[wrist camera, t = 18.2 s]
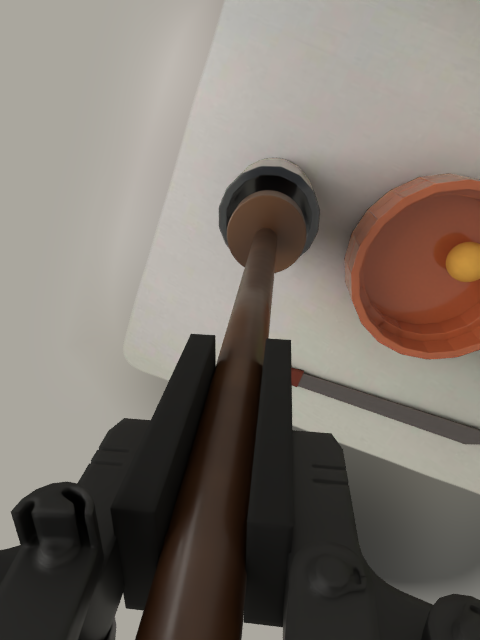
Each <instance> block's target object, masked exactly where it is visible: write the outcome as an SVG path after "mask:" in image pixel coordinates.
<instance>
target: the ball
mask: <svg viewBox="0 0 480 640" xmlns="http://www.w3.org/2000/svg"><path fill="white" fill-rule="evenodd" d="M446 269H447V271H448V273H449V274H450V276H451V277H453V278H454V279H456V280H458V281H461V282H473V281H476V280H478V279H480V244H478V243H475V242H464V243H461V244H458V245H457V246H455V247H454V248H453V249H452V250H451V251H450V252H449V253H448V255H447V258H446Z"/></svg>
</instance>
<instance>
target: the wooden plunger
mask: <svg viewBox="0 0 480 640" xmlns="http://www.w3.org/2000/svg"><path fill="white" fill-rule="evenodd" d="M227 242H228V246H229V249H230V251H231V253H232V255H233V256H234V258H235V259H236V260H237V261H238V262H239V263H240V264H241V265H242V266H244V267H245V269H244V273H243V276H242V279H241V283H240V286H239V290H238V293H237V296H236V300H235V303H234V306H233V310H232V313H231V317H230V320H229V323H228V327H227V330H226V334H225V337H224V340H223V344H222V347H221V351H220V354H219V357H218V361H217V364H216V367H215V371H214V374H213V378H212V381H211V384H210V388H209V391H208V395H207V398H206V401H205V405H204V408H203V412H202V415H201V418H200V422H199V425H198V428H197V432H196V435H195V439H194V442H193V445H192V449H191V452H190V456H189V459H188V462H187V466H186V469H185V473H184V476H183V479H182V483H181V486H180V489H179V493H178V496H177V500H176V503H175V506H174V510H173V513H172V517H171V520H170V523H169V527H168V530H167V534H166V537H165V540H164V544H163V547H162V550H161V554H160V557H159V561H158V564H157V567H156V571H155V574H154V578H153V581H152V584H151V588H150V591H149V595H148V598H147V601H146V605H145V608H144V611H143V615H142V618H141V622H140V625H139V628H138V632H137V635H136V639H135V640H241V637H242V626H243V615H244V604H245V593H246V581H247V574H246V570H245V567H246V537H247V517H248V508H249V498H250V488H251V478H252V469H253V459H254V449H255V440H256V430H257V420H258V411H259V401H260V391H261V381H262V372H263V362H264V352H265V343H266V339H268V337H269V326H270V315H271V303H272V292H273V281H274V273H276V272H280V271H282V270H284V269H286V268H288V267H289V266H291V265H292V264H293V263H294V262H295V261H296V260H297V259H298V258H299V256H300V255H301V253H302V251H303V249H304V246H305V242H306V226H305V221H304V216H303V214H302V211H301V209H300V208H299V206H298V205H297V203H296V202H295V201H294V200H293V199H291V198H290V197H289V196H287V195H285V194H283V193H281V192H278V191H272V190H264V191H259V192H255V193H253V194H251V195H249V196H247V197H246V198H245V199H243V200H242V201H241V202H240V203H239V205H238V206H237V207H236V209H235V211H234V212H233V214H232V216H231V218H230V220H229V223H228V227H227Z"/></svg>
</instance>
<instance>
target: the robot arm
mask: <svg viewBox="0 0 480 640" xmlns="http://www.w3.org/2000/svg"><path fill="white" fill-rule="evenodd" d="M215 367H216V365H215V335H200V334H191V335H190V337H189V339H188V342H187V344H186V346H185V348H184V350H183V352H182V355H181V357H180V359H179V361H178V363H177V365H176V367H175V370H174V372H173V374H172V376H171V378H170V380H169V382H168V385H167V387H166V389H165V391H164V393H163V396H162V398H161V400H160V402H159V404H158V406H157V408H156V411H155V413H154V415H153V417H152V419H151V420H140V419H139V420H138V419H128V418H124V419H123V420H121V421H120V422H119V423H118V424H117V425H115V426H114V427H113V428H112V429H110V430H109V431H108V433H107V434H106V436H105V438H104V439H103V441H102V443H101V445H100V446H99V450H97V451H96V453H95V455H94V456H93V458H92V460H91V464H89V465H88V467H87V468H86V470H85V472H84V474H83V475H82V477H81V478H80V480H79V482H78V483H77V484H76V483H71V482H61V483H52V484H49V485H47V486H44V487H42V488H39V489H36V490H35V491H33V492H32V493H30V494H29V495H27V496H26V497H24V498H23V499H22V500H21V501H20V502H19V503H18V504H17V505H16V506H15V508H14V509H13V510H12V511H11V514H12V517H13V520H14V524H15V527H16V531H17V534H18V537H19V540H20V544H21V545H19V546H16V547H12V548H9V549H5V550H0V640H115V634H116V622H115V614H116V611H117V608H118V605H119V603H120V600H121V597H122V594H123V593H124V600H125V606H126V608H128V609H136V610H144V608H145V605H146V601H147V598H148V595H149V591H150V588H151V584H152V581H153V578H154V574H155V571H156V567H157V564H158V561H159V557H160V554H161V550H162V547H163V544H164V540H165V537H166V534H167V530H168V527H169V523H170V520H171V517H172V513H173V510H174V506H175V503H176V500H177V496H178V493H179V489H180V486H181V483H182V479H183V476H184V473H185V469H186V466H187V462H188V459H189V456H190V452H191V449H192V445H193V442H194V439H195V435H196V432H197V428H198V425H199V422H200V418H201V415H202V412H203V408H204V405H205V401H206V398H207V395H208V391H209V388H210V384H211V381H212V378H213V374H214V371H215ZM245 570H246V574H247V581H246V593H245V604H244V623H253V624H262V625H269V626H277V627H283V640H480V600H478V599H476V598H474V597H472V596H466V595H459V594H452V595H448V596H444V597H441V598H439V599H438V600H437V601H436V603H435V604H434V605H432V604H430V603H427V602H425V601H423V600H421V599H418V598H416V597H413V596H411V595H409V594H406V593H404V592H402V591H400V590H398V589H396V588H394V587H392V586H391V585H389V584H387V583H386V582H385V581H384V580H382V579H381V578H380V577H378V576H377V575H376V574H375V572H374V571H373V570H372V569H371V568H370V567H369V565H368V564H367V562H366V560H365V559H364V557H363V555H362V553H361V549H360V546H359V542H358V536H357V530H356V524H355V519H354V513H353V507H352V501H351V495H350V490H349V486H348V478H347V472H346V466H345V460H344V454H343V449H342V448H341V446H340V445H339V443H338V442H337V441H336V439H335V438H334V436H333V435H332V434H330V433H318V432H306V431H293V430H292V383H291V340H281V339H266V343H265V352H264V362H263V372H262V381H261V391H260V401H259V411H258V420H257V430H256V440H255V449H254V459H253V469H252V478H251V488H250V498H249V508H248V517H247V537H246V567H245Z"/></svg>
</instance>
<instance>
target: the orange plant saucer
mask: <svg viewBox="0 0 480 640" xmlns="http://www.w3.org/2000/svg"><path fill="white" fill-rule="evenodd" d="M464 242H475V243H478V244H480V179H476V178H471V177H465V176H460V175H455V174H449V173H448V174H440V175H432V176H425V177H419V178H416V179H414V180H412V181H410V182H408V183H405V184H403V185H401V186H399V187H396V188H394V189H392V190H390V191H389V192H388V193H387V194H385V195H384V196H383V197H382V198H381V199H379V200H378V201H377V202H376V203H375V204H373V205H372V206H371V207H370V208H369V209H368V210H367V211H366V213H365V214H364V216H363V217H362V219H361V220H360V222H359V223H358V225H357V226H356V228H355V229H354V231H353V232H352V235H351V238H350V241H349V245H348V248H347V252H346V255H345V282H346V285H347V288H348V291H349V293H350V296H351V299H352V301H353V304H354V306H355V309H356V311H357V314H358V316H359V319H360V321H361V323H362V325H363V326H364V327H365V328H366V329H367V330H368V331H369V332H370V333H371V334H372V335H373V337H374V338H375V339H376V340H377V341H378V342H380V343H381V344H383V345H385V346H387V347H389V348H391V349H392V350H394V351H396V352H398V353H400V354H403V355H408V356H413V357H418V358H423V359H441V358H455V357H459V356H462V355H465V354H468V353H471V352H474V351H477V350H480V279H478V280H476V281H473V282H461V281H458V280H456V279H454V278H453V277H451V276H450V274H449V273H448V271H447V269H446V258H447V255H448V253H449V252H450V251H451V250H452V249H453V248H454V247H455V246H457V245H458V244H461V243H464Z"/></svg>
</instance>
